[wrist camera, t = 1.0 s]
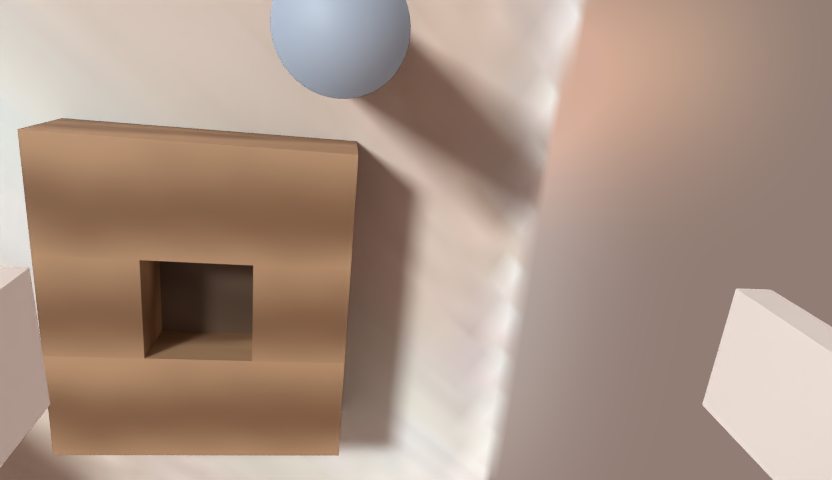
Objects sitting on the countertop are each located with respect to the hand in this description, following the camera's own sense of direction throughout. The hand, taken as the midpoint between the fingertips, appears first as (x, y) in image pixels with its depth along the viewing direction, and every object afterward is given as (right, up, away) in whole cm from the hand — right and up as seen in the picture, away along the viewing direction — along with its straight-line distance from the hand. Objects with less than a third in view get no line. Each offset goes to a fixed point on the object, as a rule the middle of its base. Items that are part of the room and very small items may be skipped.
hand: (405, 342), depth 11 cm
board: (-11, 0, +20) cm, 23 cm away
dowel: (-3, +12, +17) cm, 21 cm away
